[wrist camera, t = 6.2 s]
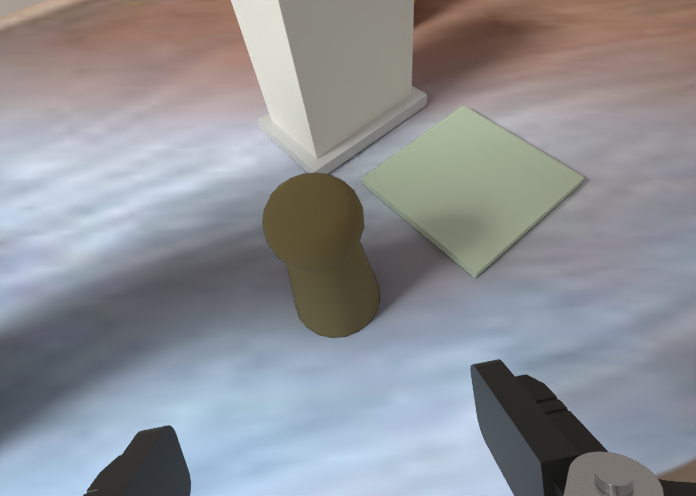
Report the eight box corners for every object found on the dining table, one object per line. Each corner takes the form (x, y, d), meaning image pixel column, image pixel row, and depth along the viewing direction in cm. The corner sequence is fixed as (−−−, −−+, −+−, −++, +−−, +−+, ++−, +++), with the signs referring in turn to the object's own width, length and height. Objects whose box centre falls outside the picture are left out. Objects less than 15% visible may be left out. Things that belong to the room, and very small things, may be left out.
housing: (317, 181, 35) (268, -6, 22) (260, 130, 39) (191, -53, 26) (426, 105, 38) (439, -95, 25) (363, 65, 42) (347, -124, 30)
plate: (475, 278, 28) (476, 273, 28) (362, 184, 34) (361, 178, 33) (580, 184, 32) (584, 177, 31) (462, 112, 37) (463, 105, 37)
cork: (318, 249, 31) (284, 142, 22) (393, 275, 29) (389, 171, 20) (279, 318, 29) (221, 230, 19) (358, 351, 27) (336, 272, 17)
